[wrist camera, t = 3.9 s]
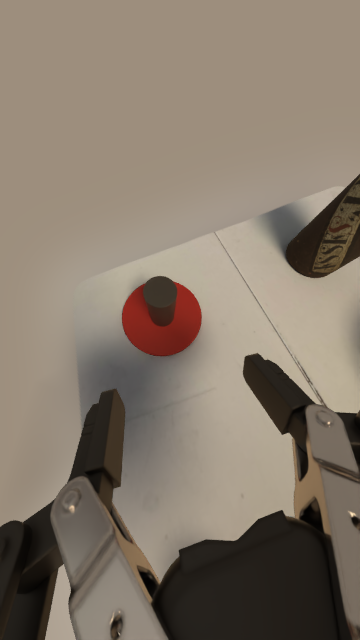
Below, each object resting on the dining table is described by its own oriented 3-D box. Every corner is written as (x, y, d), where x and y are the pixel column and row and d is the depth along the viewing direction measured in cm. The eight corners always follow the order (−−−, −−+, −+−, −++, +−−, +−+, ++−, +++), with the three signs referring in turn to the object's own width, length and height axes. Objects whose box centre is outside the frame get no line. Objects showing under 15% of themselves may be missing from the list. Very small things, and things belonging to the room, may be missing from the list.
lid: (144, 371, 22) (130, 375, 14) (110, 301, 24) (80, 267, 16) (214, 332, 24) (240, 315, 16) (178, 271, 26) (183, 226, 18)
